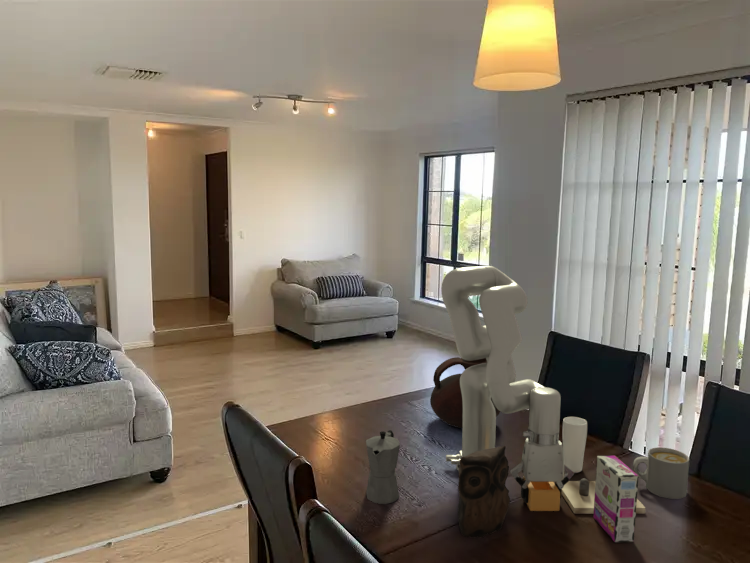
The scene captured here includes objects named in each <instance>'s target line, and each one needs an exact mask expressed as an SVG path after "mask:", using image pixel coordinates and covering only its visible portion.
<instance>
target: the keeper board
mask: <svg viewBox="0 0 750 563" xmlns="http://www.w3.org/2000/svg"><path fill="white" fill-rule="evenodd" d="M595 483H596V480H589V479H587V478H585V477H584V478H581V479H580V480H569V481H568V482H567V483H566V484H565V485H564V487H563V488H562V492H561V497H563V498H564V500H565V502H566V503H567V505H568V506H569V508H570V509H571V511H572V512H573V514H580V515H581V514H584V515H585V514H588V515H589V514H593V515H594V499H595ZM636 514H646V506H645V505H644V504H643V503H642V502H641V501H640V500H639V499H638V498H637V504H636Z"/></svg>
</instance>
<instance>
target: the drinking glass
mask: <svg viewBox="0 0 750 563" xmlns="http://www.w3.org/2000/svg"><path fill="white" fill-rule="evenodd" d="M562 420H563V421H562V434H561V435H562V436H561V437H562V446H563V455H564V464H565V465H566V466H567V467H569V468H570V469H571V470H572V471H573V472H574V474H577V473H580V472H582V471H583V465H584V463H583V462H584V458H585V457H584V456H585V450H586V445H587V444H586V443H587V438H588V421H587V419H584V418H581V417H578V416H567V417H564V418H563V419H562Z"/></svg>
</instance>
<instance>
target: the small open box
mask: <svg viewBox="0 0 750 563" xmlns="http://www.w3.org/2000/svg"><path fill="white" fill-rule="evenodd" d="M554 483H555V482H530V483H529V485H528V489H529V495H528V503H526V505H527V508H528V510H529V511H530V512H533V511H534V512H553V511H554V512H560V509H561V508H560V506H561V505H560V504H561V498H560V491H559V490H558V488H557V487H556V485H555V484H554Z"/></svg>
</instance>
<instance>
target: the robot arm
mask: <svg viewBox="0 0 750 563" xmlns="http://www.w3.org/2000/svg"><path fill="white" fill-rule="evenodd" d="M440 291H441V298H442V301H443V304H444V307H445V309H446V311H447V313H448V316H449V321H450V325H451V328H452V334H453V337H454V342H455V345H456V349H457V352H458V355H459V356H460V357H459V358H462V359H464V360H467V361H472V360H479V359H483V358H486V360H487V363H482V364H478V365H474V366H471V367H469V368H467V369H464V370H463V371H462V374H461V373H460V374H461V377H460V388H461V393H462V401H463V428H461V430H462V434H461V435H462V438H461V450H459V453H456V454H445V461H446V462H450V464H451V465H456V467H455V468H456V470H457V472H459V468H460V459H461V458H462V457H463V456H464V457H465V456H467V455H469V454H471V453H474V452H476V451H482V450H484V449H490V448H496V432H497V431H496V429H497V428H496V425H497V417H496V411H495V407H494V405H495V406H496V408H497V409H498V410H499V411H500V413H503V414H507V415H508V414H513V413H518V412H520V411H524V410H529V411H528V412H529V413H528V427H527V430H526V431H523V432H522V437H523V438H525V441H524V446H523V449H522V450H523V451H522V454H521V455H522V457H521V462H519V464H517V465H515V467H513V468H512V469H510V470H509V472H510V474H511V476H512V477H513V479H514V480H515V481H516V483H517V484H519V485H520V486H521V487H520V497H521V499H523V501H524V503H525V504H527V503H528V495H529V489H528V485H529V483H530V482H554V484H555V485H556V487H557V488H558V490H559V491H560V499H562V494H561V492H562V488H563V487H564V485H565V484H566V483H567V482H568V481H570V479H571V478H572V477H573V476H574V475H575V473H574V472H573V471H572V470H571V469H570V468H569V467H567V466H566V465H565V464H564V455H563V442H561V440H559V439H560V419H561V397H562V396H561V393H560V392H559V391H558V390H557V389H555V388H552V387H548V386H547V387H546V386H544V385H542V384H541V383H539V382H537V381H536V380H534V379H530V378H526V379H521V380H517V374H516V368H515V363H514V360H513V356H512V354H513V353H514V352H515V350H516V349H517V347H519V346H520V345H521V343H522V341H523V337H522V334H521V330H520V326H519V323H518V319H517V317H516V315H518V314H521V313H523V312H524V311H525V310H526V309H527V306H528V296H527V293H526V292H525V290H524V288H522V286H521V285H519V283H517V282H516V281H515V280H513V279H512V278H510V277H509V276H508V275H507V274H505V273H504V272H503V271H501V270H500V269H499V268H497V267H495V266H492V265H479V266H478V265H477V266H464V267H458V268H455V269H452V270H451V271H449V272H447V273H446V274H445V276H444V277H443V280H442V283H441V290H440ZM474 296H479V298H478V302H479V307H480V310H481V313H482V314H481V315H482V318H483V322H484V324H485V325H482V323H481V319H480V314H479V311H478V309H477V308H476V306H475V304H474V303H473V302H472V301H471V300H470V299H469V297H474ZM491 398H492V401H493V403H494V405H493V403H492V401H491ZM520 472H521V473H522V474H523V476H522V477H521V476H520V475H519V473H520Z"/></svg>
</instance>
